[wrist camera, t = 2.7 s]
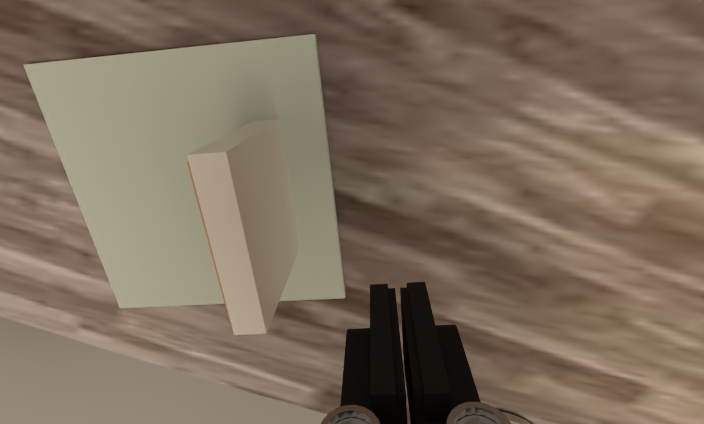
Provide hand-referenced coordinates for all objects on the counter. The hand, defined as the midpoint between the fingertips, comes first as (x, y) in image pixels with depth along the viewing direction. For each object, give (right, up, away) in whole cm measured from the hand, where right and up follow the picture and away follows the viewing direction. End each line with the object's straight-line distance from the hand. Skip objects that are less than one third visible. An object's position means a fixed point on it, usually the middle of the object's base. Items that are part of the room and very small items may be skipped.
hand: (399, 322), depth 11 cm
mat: (-13, +5, +17) cm, 22 cm away
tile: (-7, +5, +16) cm, 18 cm away
